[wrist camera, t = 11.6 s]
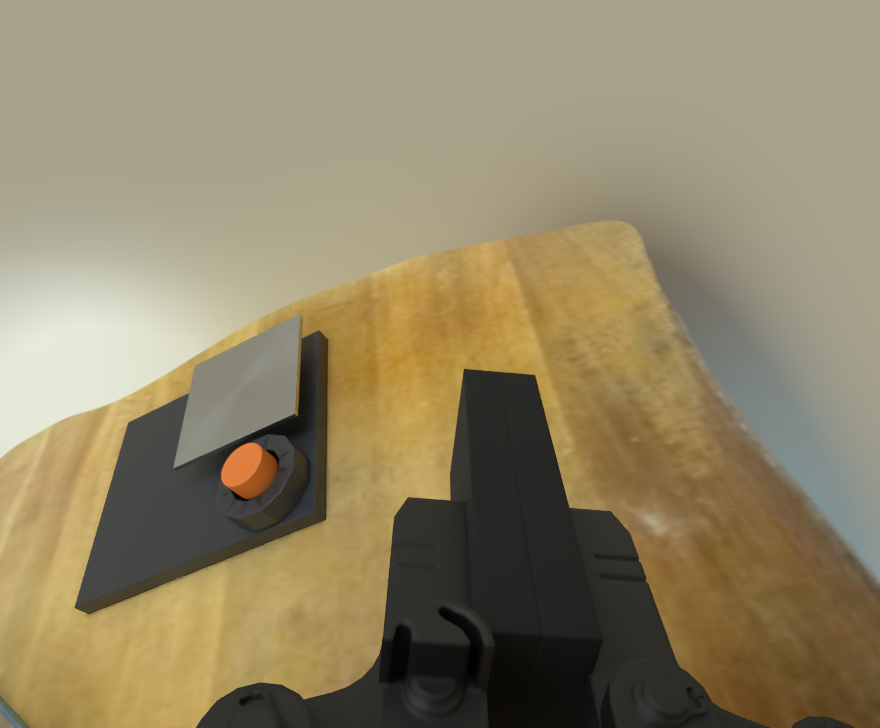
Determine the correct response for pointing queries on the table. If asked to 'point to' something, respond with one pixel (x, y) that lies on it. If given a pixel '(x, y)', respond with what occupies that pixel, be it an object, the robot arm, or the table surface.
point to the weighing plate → (242, 392)
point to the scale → (204, 495)
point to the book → (9, 717)
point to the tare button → (249, 470)
